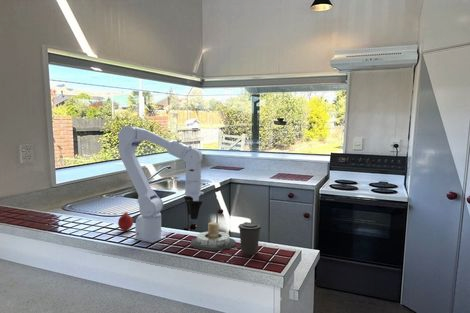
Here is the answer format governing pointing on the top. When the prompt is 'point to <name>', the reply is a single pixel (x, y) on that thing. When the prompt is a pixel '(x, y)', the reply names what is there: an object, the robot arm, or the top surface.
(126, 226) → the onion
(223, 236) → the rosette
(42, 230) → the top surface
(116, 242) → the top surface
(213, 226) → the peg
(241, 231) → the coffee cup
